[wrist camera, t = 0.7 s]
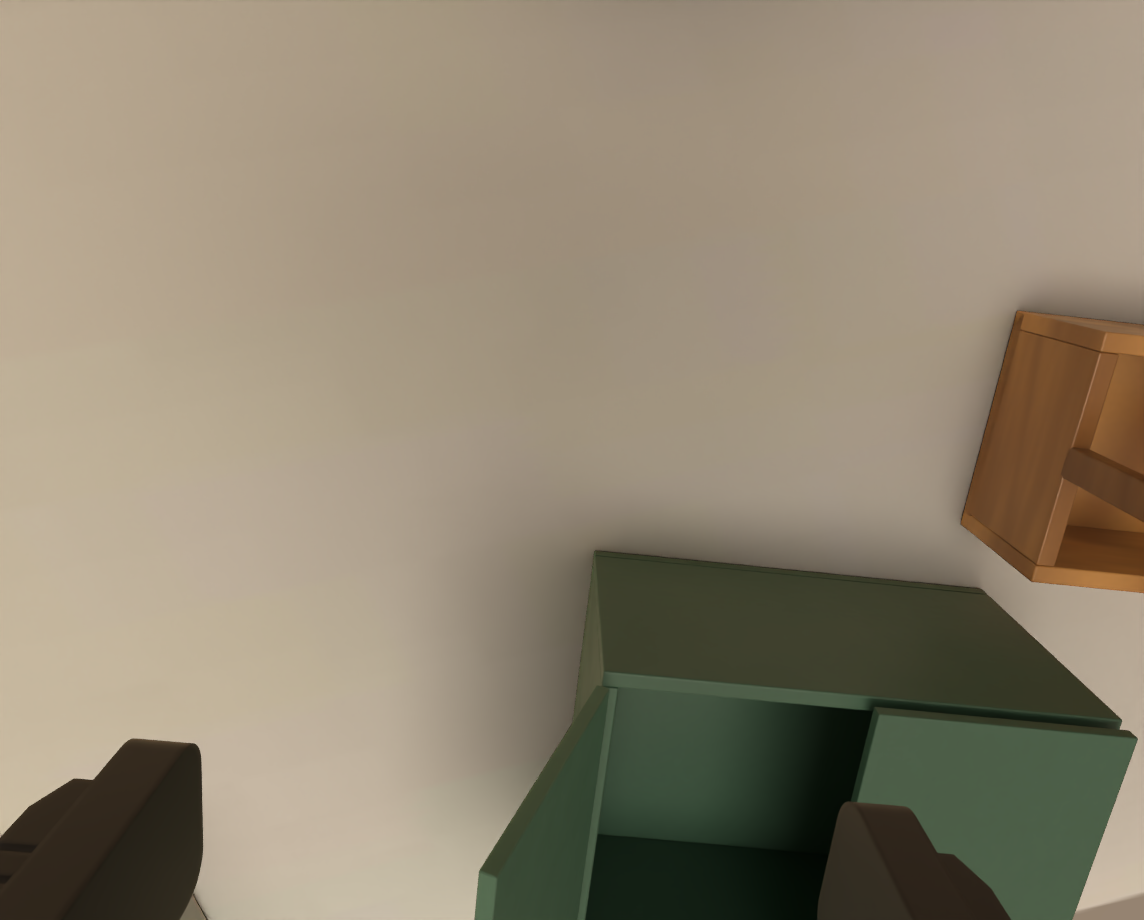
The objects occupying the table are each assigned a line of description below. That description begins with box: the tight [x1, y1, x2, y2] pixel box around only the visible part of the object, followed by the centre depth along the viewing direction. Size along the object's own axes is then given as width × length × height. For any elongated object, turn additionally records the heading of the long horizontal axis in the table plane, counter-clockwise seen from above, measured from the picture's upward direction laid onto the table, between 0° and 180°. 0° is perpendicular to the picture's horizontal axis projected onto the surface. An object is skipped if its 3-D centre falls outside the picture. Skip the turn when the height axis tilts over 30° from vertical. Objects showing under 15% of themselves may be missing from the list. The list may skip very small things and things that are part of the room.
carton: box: [573, 551, 1138, 920], centre depth 29 cm, size 15×13×9 cm
